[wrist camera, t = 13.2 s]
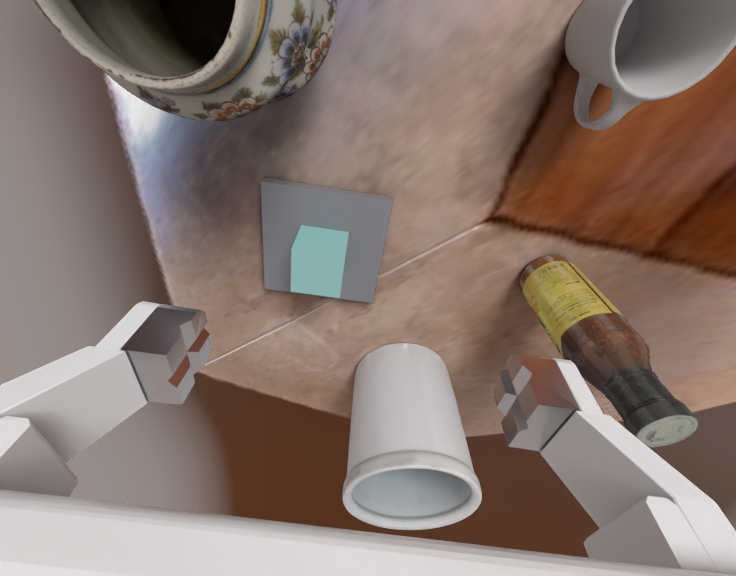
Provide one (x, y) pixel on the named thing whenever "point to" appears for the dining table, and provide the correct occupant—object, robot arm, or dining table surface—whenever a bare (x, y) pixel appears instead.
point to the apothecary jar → (200, 49)
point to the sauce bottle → (604, 350)
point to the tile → (330, 211)
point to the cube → (318, 261)
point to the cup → (645, 50)
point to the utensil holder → (407, 443)
